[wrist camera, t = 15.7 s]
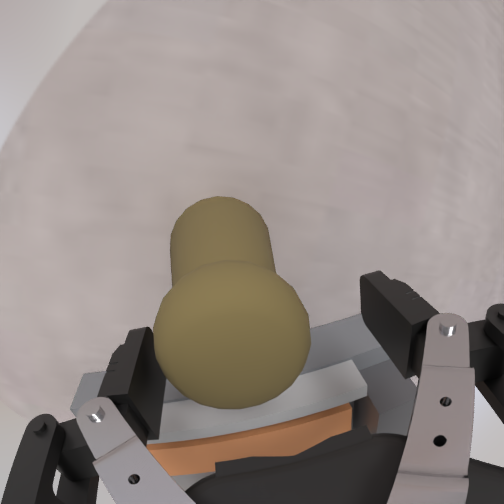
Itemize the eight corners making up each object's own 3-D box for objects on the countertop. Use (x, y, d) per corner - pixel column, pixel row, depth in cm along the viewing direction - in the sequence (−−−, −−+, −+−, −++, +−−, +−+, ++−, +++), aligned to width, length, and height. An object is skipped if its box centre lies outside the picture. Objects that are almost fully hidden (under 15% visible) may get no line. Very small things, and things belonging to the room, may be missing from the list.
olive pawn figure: (283, 210, 18) (370, 300, 8) (254, 299, 20) (295, 437, 10) (182, 185, 17) (144, 253, 7) (161, 280, 19) (127, 418, 9)
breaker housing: (384, 306, 22) (444, 370, 15) (378, 398, 26) (414, 458, 19) (83, 373, 21) (55, 451, 13) (139, 450, 25) (132, 517, 17)
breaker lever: (346, 396, 19) (352, 408, 18) (345, 427, 21) (350, 438, 20) (114, 439, 18) (112, 451, 17) (137, 466, 20) (136, 477, 19)
